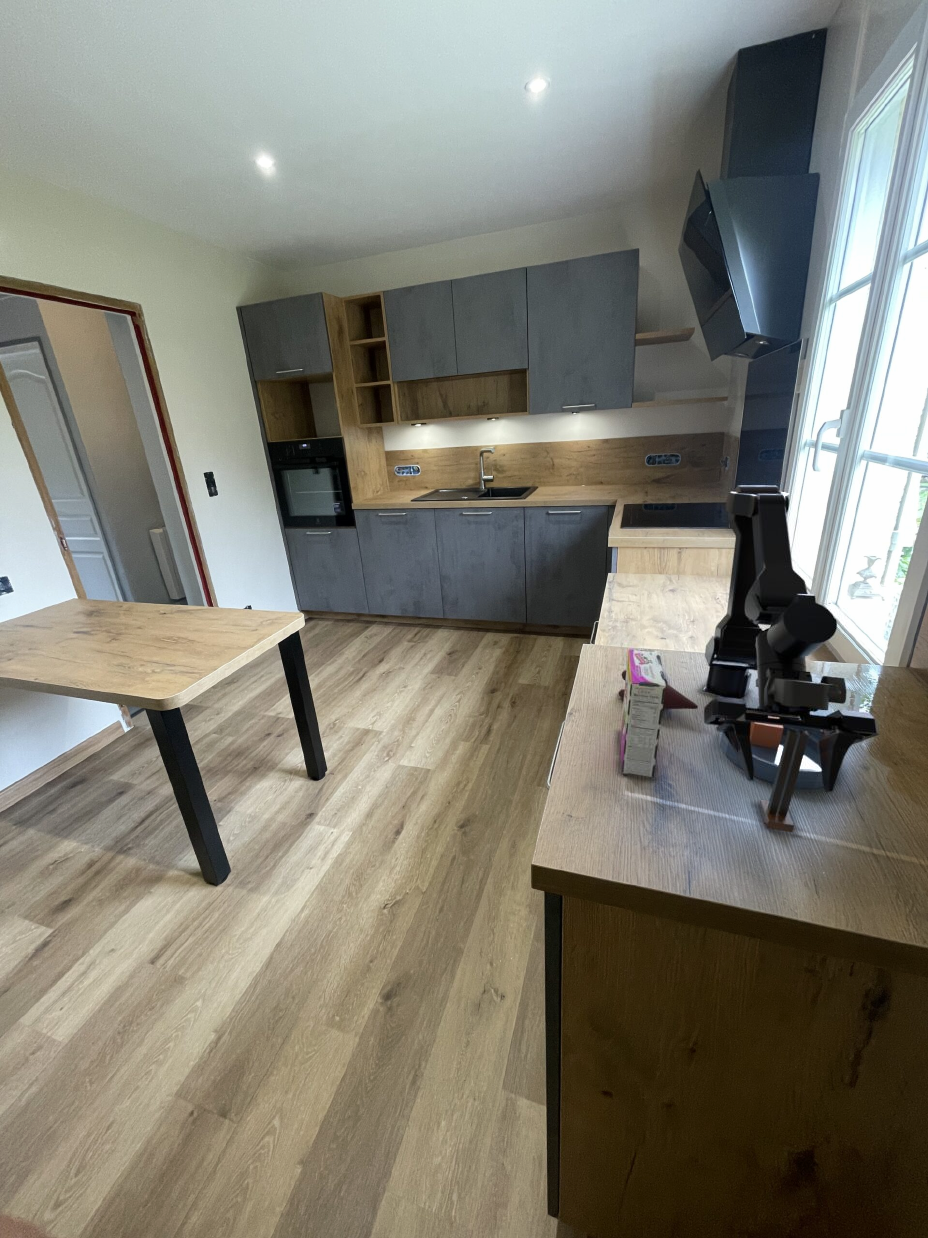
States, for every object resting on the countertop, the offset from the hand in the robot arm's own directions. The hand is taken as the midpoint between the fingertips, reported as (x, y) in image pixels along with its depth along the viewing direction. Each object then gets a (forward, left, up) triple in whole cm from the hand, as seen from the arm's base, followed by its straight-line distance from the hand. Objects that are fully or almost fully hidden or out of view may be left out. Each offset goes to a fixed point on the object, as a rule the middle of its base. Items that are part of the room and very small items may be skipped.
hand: (789, 786), depth 61 cm
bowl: (-4, +16, -7) cm, 18 cm away
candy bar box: (-21, +2, -7) cm, 22 cm away
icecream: (-24, +17, -7) cm, 30 cm away
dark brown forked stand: (-1, +1, -7) cm, 7 cm away
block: (-6, +19, -6) cm, 21 cm away
